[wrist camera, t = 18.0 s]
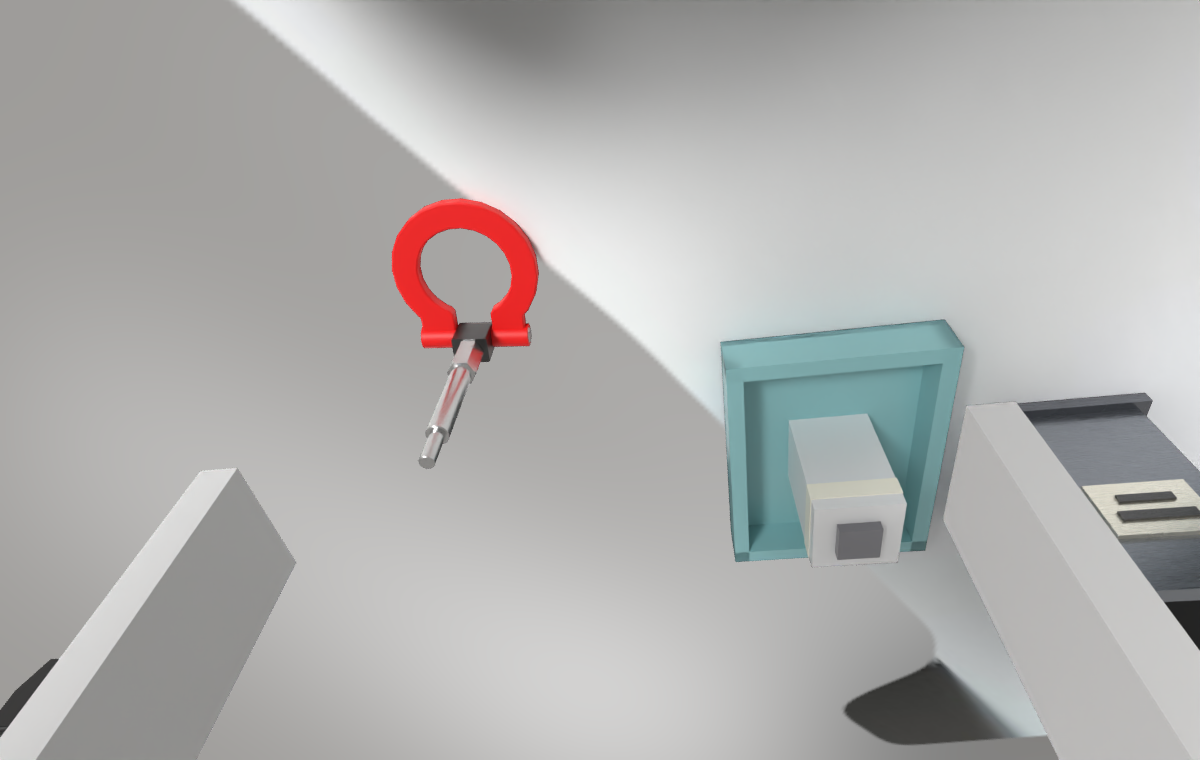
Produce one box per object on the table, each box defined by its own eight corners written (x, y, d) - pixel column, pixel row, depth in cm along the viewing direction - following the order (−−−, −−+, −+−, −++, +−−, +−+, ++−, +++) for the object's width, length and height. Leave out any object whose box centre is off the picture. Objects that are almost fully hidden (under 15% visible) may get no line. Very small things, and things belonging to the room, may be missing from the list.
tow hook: (383, 198, 38) (415, 341, 43) (284, 301, 27) (342, 477, 32) (531, 193, 38) (546, 339, 43) (491, 296, 27) (518, 475, 32)
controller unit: (990, 405, 44) (1113, 585, 33) (1144, 392, 43) (1327, 574, 31) (963, 524, 50) (1057, 708, 39) (1096, 515, 49) (1234, 702, 38)
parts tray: (720, 341, 42) (725, 369, 40) (944, 319, 40) (964, 347, 38) (731, 530, 52) (735, 561, 49) (911, 518, 50) (925, 550, 48)
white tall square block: (787, 419, 45) (815, 517, 38) (868, 412, 44) (911, 510, 37) (787, 475, 48) (813, 576, 41) (862, 470, 47) (901, 570, 40)
